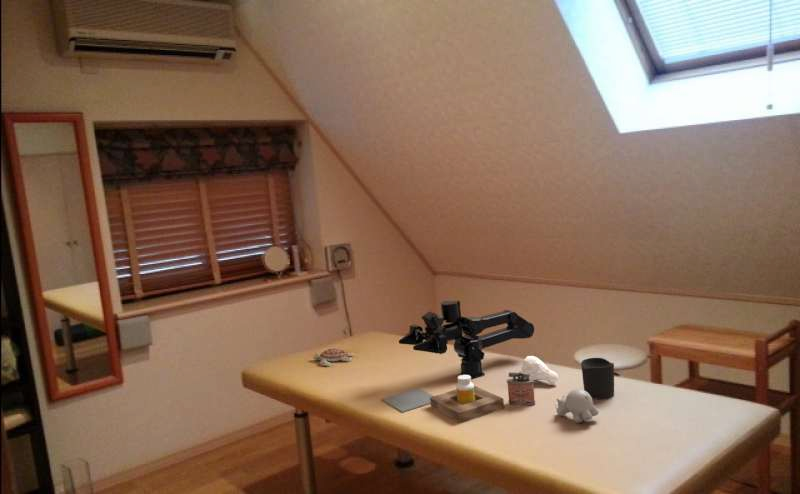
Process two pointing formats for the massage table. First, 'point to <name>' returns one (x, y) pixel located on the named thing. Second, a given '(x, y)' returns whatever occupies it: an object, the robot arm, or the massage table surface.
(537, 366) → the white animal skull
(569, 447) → the massage table surface
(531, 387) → the lighter
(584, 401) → the round bodied animal figurine
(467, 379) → the supplement bottle
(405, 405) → the mat
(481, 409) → the pocket block
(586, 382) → the pen holder
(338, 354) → the decorative turtle
